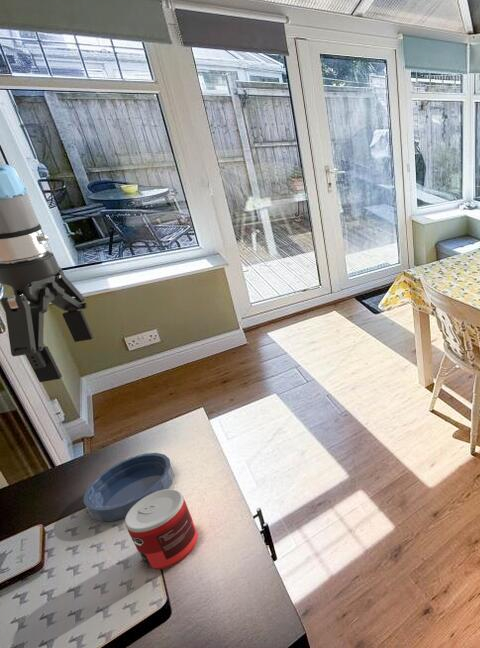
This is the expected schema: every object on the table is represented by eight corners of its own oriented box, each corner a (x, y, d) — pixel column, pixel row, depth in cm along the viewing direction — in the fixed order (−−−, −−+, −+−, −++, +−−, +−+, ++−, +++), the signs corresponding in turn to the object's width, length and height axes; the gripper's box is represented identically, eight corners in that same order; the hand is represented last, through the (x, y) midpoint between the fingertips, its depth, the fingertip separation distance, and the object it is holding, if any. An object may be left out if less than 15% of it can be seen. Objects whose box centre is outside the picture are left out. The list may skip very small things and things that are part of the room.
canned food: (154, 536, 77) (134, 495, 73) (204, 522, 80) (188, 483, 75) (136, 578, 71) (114, 536, 66) (192, 562, 73) (174, 521, 69)
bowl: (77, 533, 77) (70, 520, 76) (105, 476, 88) (99, 464, 87) (165, 507, 82) (160, 495, 81) (181, 456, 93) (177, 445, 92)
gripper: (8, 282, 62) (63, 394, 70) (81, 232, 83) (117, 322, 91) (-65, 290, 59) (2, 405, 67) (30, 235, 80) (72, 329, 88)
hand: (68, 358), depth 79 cm, fingers open, 13 cm apart
